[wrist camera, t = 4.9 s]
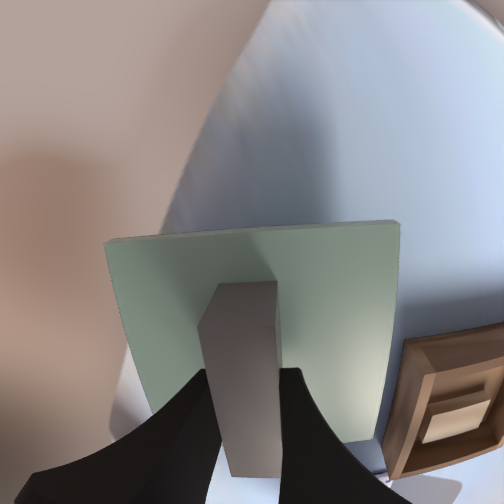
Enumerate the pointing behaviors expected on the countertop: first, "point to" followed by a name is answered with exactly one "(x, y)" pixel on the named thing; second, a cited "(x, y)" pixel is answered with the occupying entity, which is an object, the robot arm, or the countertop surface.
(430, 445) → the box
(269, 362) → the lid
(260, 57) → the countertop surface
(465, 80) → the countertop surface
